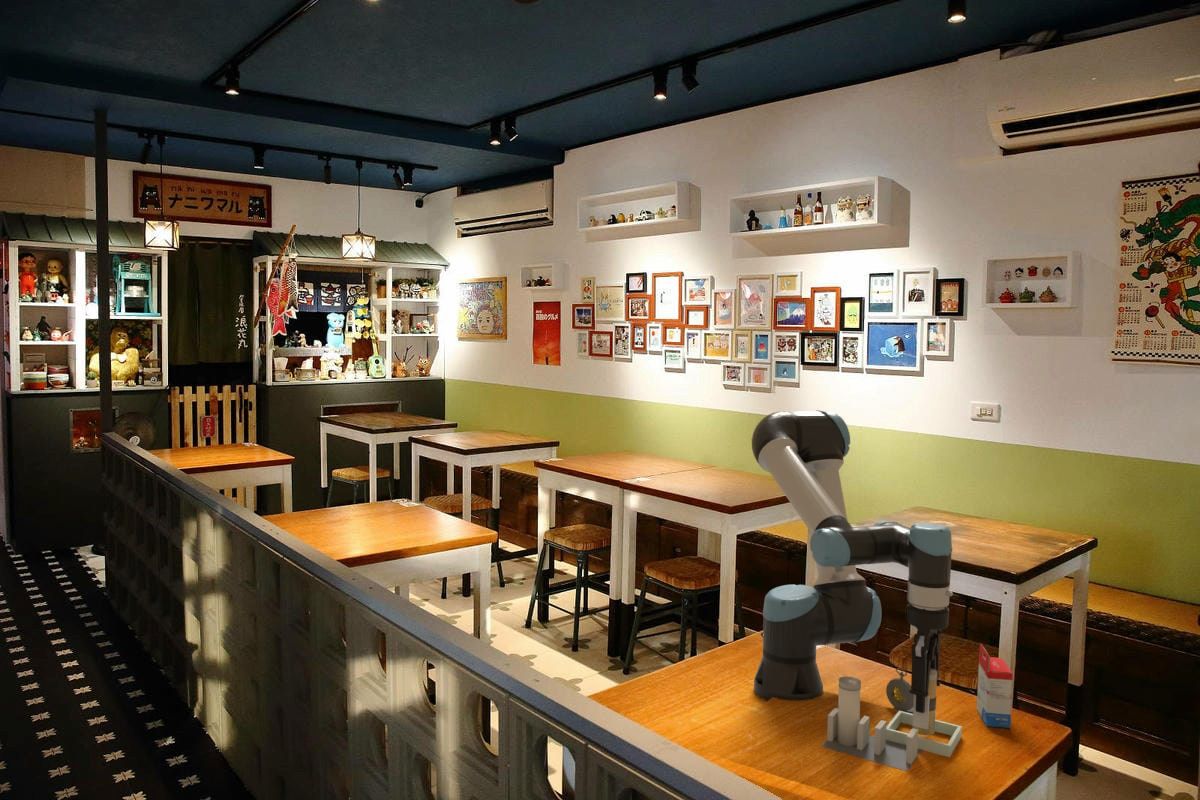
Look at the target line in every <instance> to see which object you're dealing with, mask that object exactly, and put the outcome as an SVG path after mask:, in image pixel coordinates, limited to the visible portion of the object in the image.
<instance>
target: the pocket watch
mask: <svg viewBox="0 0 1200 800" xmlns="http://www.w3.org/2000/svg"><path fill="white" fill-rule="evenodd" d="M898 670H902V671H900V672H899V671H898ZM895 671H896V673H897V674H898V675H899V676H900V677H894V678H892V679H891V680H889V681H888V683H887V685H886V689H885V692H886V697H887V699H888V702H889V703H890V704H891V705H892V706H893V707H894V709H895V710H897V711H903V712H907V713H911V714H913V707H914V705H913V702H914V694H911V693H910V692H909V690H911V684H910V682H908V681H907V680H906V679H904V678H905V677H906V676H907V675H908V672H907V671H906V670H905V669H904V668H901V667H897V668H895Z"/></svg>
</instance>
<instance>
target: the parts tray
mask: <svg viewBox="0 0 1200 800" xmlns="http://www.w3.org/2000/svg"><path fill="white" fill-rule="evenodd" d="M897 711H898V712H896V714H895V715H894V716H893V718H892V719H891V720H890V721H889V723H888V724H886V740H889V741H893V742H896V743H900V744H904V745H906V743H907V735H908V734H909V733H908V732H904V731H899V730H897V729H898V727H899V726H900V724H904V725H908V726H912V727H913V714H911V713H907V712H903V711H899V710H897ZM962 729H963V726H962V725H957V724H954V723H949V722H945V721H942V720H938V719H935V732H936V733H939V734H944V735H948V736H950V739H949V741H948V742H947V743H945V742H941V741H937V740H934V739H929V738H927V737H922V736H919V735H918V746H917V748H918V749H922V750H921V751H925V752H929V753H932V754H936V755H940V756H944V757H947V758H951V756H952V754H953V753H954V751H955V749H956V748H957V746H958V744H959V742H960V740H961V739H962V735H963V734H962V732H963V731H962Z"/></svg>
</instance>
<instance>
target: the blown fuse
mask: <svg viewBox="0 0 1200 800" xmlns="http://www.w3.org/2000/svg"><path fill="white" fill-rule="evenodd" d="M937 681H938V679H937V670H935V669H933V668H930V676H929V688H928V695H930V699H929V725H928V729H924V728H920V727H916V726H912V728H914V729H917V730H918V735H922V736H932V735H934V734H935V720H936V710H937V687H938V686H937ZM913 705H914V702H913Z"/></svg>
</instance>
